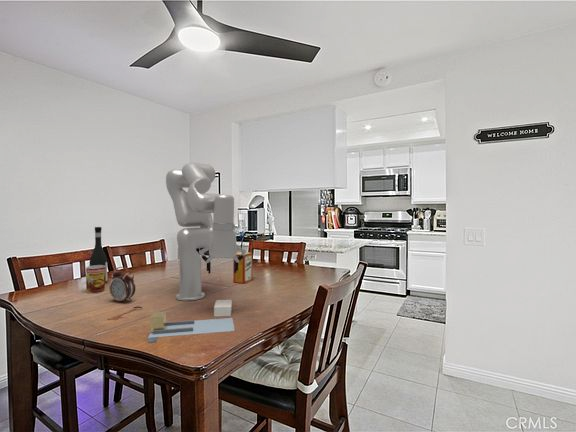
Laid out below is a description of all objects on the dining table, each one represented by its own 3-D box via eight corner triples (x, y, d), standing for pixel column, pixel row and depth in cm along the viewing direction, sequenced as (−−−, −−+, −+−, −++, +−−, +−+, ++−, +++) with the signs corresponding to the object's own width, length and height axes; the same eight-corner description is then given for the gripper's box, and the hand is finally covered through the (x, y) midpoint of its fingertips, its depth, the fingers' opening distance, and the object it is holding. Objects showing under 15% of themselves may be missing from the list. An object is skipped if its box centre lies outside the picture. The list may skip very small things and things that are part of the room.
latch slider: (153, 326, 104) (153, 312, 104) (166, 325, 105) (165, 311, 105) (150, 332, 99) (150, 317, 99) (163, 331, 100) (163, 316, 100)
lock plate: (155, 327, 108) (155, 320, 107) (232, 321, 113) (232, 315, 113) (147, 342, 96) (147, 334, 96) (234, 335, 102) (234, 327, 102)
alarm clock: (108, 301, 136) (108, 267, 135) (118, 298, 140) (117, 265, 140) (127, 304, 132) (127, 269, 132) (136, 301, 137) (136, 267, 136)
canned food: (87, 294, 146) (87, 268, 146) (84, 291, 152) (84, 266, 152) (107, 291, 152) (106, 266, 151) (103, 288, 158) (103, 264, 157)
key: (116, 323, 113) (148, 310, 127) (116, 320, 113) (148, 308, 127) (104, 319, 115) (137, 307, 129) (104, 317, 115) (137, 305, 129)
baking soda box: (242, 279, 179) (242, 251, 179) (252, 280, 177) (252, 251, 177) (233, 282, 171) (233, 253, 170) (244, 284, 168) (244, 254, 168)
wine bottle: (103, 281, 172) (102, 226, 171) (110, 283, 168) (109, 227, 167) (87, 284, 166) (86, 227, 165) (93, 286, 161) (93, 227, 160)
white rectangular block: (216, 312, 124) (216, 300, 123) (231, 312, 124) (231, 299, 124) (214, 321, 115) (214, 307, 115) (230, 320, 116) (230, 306, 115)
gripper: (245, 226, 124) (244, 269, 125) (200, 226, 120) (199, 270, 121) (247, 229, 117) (246, 274, 118) (199, 228, 113) (198, 275, 114)
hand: (222, 272), depth 120 cm, fingers open, 9 cm apart
